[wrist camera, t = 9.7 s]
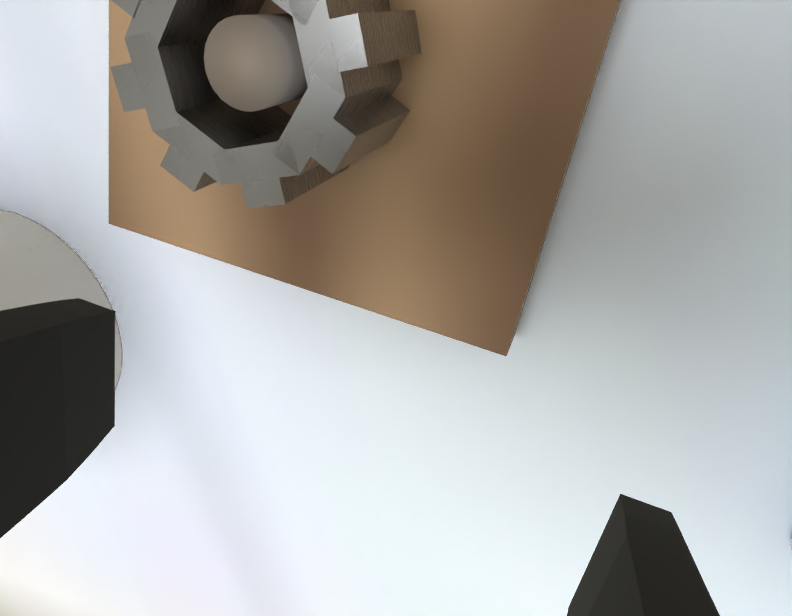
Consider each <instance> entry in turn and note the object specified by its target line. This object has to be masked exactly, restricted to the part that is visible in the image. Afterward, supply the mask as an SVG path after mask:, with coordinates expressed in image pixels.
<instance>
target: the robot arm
mask: <svg viewBox="0 0 792 616" xmlns="http://www.w3.org/2000/svg"><path fill="white" fill-rule="evenodd" d="M114 421H115V311H113V310H111V309H108V308H105V307H102V306H100V305H97V304H94V303H91V302H89V301H86V300H83V299H80V298H76V299H66V300H58V301H51V302H45V303H39V304H33V305H28V306H22V307H17V308H12V309H7V310H2V311H0V538H1V537H2V536H3V535H4V534H6V533H7V532H8V531H9V530H10V529H11V528H13V527H14V526H15V525H16V524H17V523H18V522H20V521H21V520H22V519H23V518H24V517H25V516H26V515H28V514H29V513H30V512H31V511H32V510H33V509H34V508H36V507H37V506H38V505H39V504H40V503H41V502H42V501H44V500H45V499H46V498H47V497H48V496H49V495H50V494H52V493H53V492H54V491H55V490H56V489H57V488H58V487H59V486H60V485H61V484H63V483H64V482H65V481H66V480H67V479H68V478H69V477H70V476H71V475H72V474H73V472H74V471H75V470H76V469H77V468H78V467H79V466H80V465H81V464H82V463H83V462H84V461H85V459H86V458H87V457H88V456H89V455H90V454H91V453H92V452H93V450H94V449H95V448H96V447H97V446H98V445H99V443H100V442H101V441H102V440H103V439H104V438H105V436H106V435H107V434H108V433H109V432H110V430H111V429H112V428H113V427H114ZM790 546H791V550H792V539H791V542H790ZM567 616H720V615H719V613H718V611H717V609H716V607H715V605H714V603H713V600H712V598H711V596H710V594H709V592H708V590H707V588H706V586H705V583H704V581H703V579H702V577H701V575H700V573H699V570H698V568H697V566H696V564H695V562H694V560H693V557H692V555H691V553H690V551H689V549H688V546H687V544H686V542H685V540H684V538H683V536H682V533H681V531H680V529H679V527H678V525H677V523H676V521H675V519H674V517H673V515H672V513H671V512H669V511H666V510H663V509H661V508H658V507H655V506H652V505H650V504H647V503H644V502H641V501H639V500H636V499H633V498H630V497H628V496H625V495H622V494H620V496H619V498H618V501H617V503H616V505H615V507H614V509H613V512H612V514H611V516H610V518H609V520H608V522H607V525H606V527H605V529H604V531H603V533H602V536H601V538H600V540H599V542H598V544H597V547H596V549H595V551H594V553H593V555H592V557H591V560H590V562H589V564H588V566H587V568H586V571H585V573H584V575H583V577H582V579H581V582H580V584H579V586H578V588H577V590H576V592H575V595H574V597H573V599H572V601H571V603H570V606H569V608H568V614H567Z"/></svg>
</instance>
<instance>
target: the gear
mask: <svg viewBox="0 0 792 616" xmlns="http://www.w3.org/2000/svg"><path fill="white" fill-rule="evenodd" d="M111 1H112V2H114V3H115V4H116V5H118V6H119V7H120V8H121V9H123V10H124V11H125V12H126V13H128V14H129V15H130V16H132V19H131V22H130V25H129V27H128V30H127V32H126V35H125V42H126V45H127V48H128V52H129V55H130V58H131V63H126V64H122V65H117V66H112V67H110V68H111V72H112V75H113V78H114V81H115V85H116V88H117V91H118V94H119V97H120V101H121V104H122V107H123V110H124V112H128V111H133V110H139V109H144V108H146V112H147V115H148V118H149V122H150V125H151V128H152V131H153V132H154V133H156V134H157V135H158V136H159V137H161V138H162V139H163V140H164V141H166V142H167V143H168V144H170V145H169V147H168V150H167V152H166V154H165V156H164V158H163V160H162V163H161V165H160V166H161V167H163V168H164V169H165V170H166V171H168V172H169V173H170V174H172V175H173V176H174V177H175V178H177V179H178V180H179V181H180V182H182V183H183V184H184V185H186V186H187V187H188V188H189V189H191V190H192V191H193V192H195V191H197V190H199V189H201V188H204V187H206V186H208V185H211V184H213V183H215V182H218V183H219V184H221V185H227V184H234V183H241V186H242V190H243V194H244V198H245V202H246V205H247V209H250V208H259V207H267V206H276V205H285V204H287V203H289V202H290V201H292V200H294V199H296V198H297V197H299V196H301V195H303V194H304V193H306V192H308V191H310V190H311V189H313V188H315V187H316V186H318V185H320V184H322V183H323V182H325V181H327V180H329V179H330V178H332V177H334V176H336V175H337V174H339V173H341V172H342V171H344V170H346V169H348V168H349V164H351V163H353V162H354V161H356V160H358V159H360V158H362V157H363V156H365V155H367V154H369V153H370V152H372V151H374V150H376V149H377V148H379V147H381V146H383V145H384V144H386V143H388V142H390V140H391V139H392V137H393V136H394V134H395V133H396V131H397V130H398V128H399V127H400V125H401V124H402V122H403V121H404V119H405V118H406V116H407V115H408V113H409V112H410V110H409V109H408V108H407V107H406V106H404V105H403V104H402V103H401V102H399V101H398V100H397V99H395V98H394V97H393V96H392V94H393V93H394V91H395V90H396V88H397V86H398V85H399V83H400V82H401V80H402V73H401V67H400V61H399V59H401V58H405V57H409V56H413V55H417V54H421V53H422V51H421V44H420V38H419V32H418V26H417V19H416V13H415V10H406V11H391V9H390V3H389V0H272V1H273V2H274V3H276V4H277V5H278V6H279V7H281V8H282V9H283V10H285V11H286V12H287V13H288V14H290V15H291V16H292V17H293V21H294V26H295V31H296V35H297V40H298V44H299V49H300V54H301V58H302V63H303V67H304V72H305V77H306V81H307V86H308V89H307V90H306V92H305V94H304V96H303V97H302V99H301V101H300V103H299V105H298V106H297V108H296V110H295V112H294V114H293V115H292V117H291V116H290V115H289V114H288V113H286V112H285V111H284V110H283V109H281V108H280V107H279V106H277V105H275V106H272V107H269V108H265V109H262V110H258V111H252V112H248V111H241V110H238V109H235V108H233V107H231V106H229V105H228V104H227V103H225V102H224V101H223V100H222V99H221V98H220V97H219V96H218V95H217V94H216V92H215V91H214V90H213V88H212V86H211V84H210V82H209V80H208V77H207V74H206V71H205V65H204V50H205V45H206V41H207V38H208V36H209V34H210V32H211V31H212V29H213V28H214V27H215V26H216V25H217V24H218V23H219V22H220V21H222V20H223V19H225V18H227V17H230V16H235V15H255V14H258V13H259V11H260V9H261V7H262V5H263V3H264V1H265V0H111Z"/></svg>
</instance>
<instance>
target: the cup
mask: <svg viewBox="0 0 792 616" xmlns="http://www.w3.org/2000/svg"><path fill="white" fill-rule="evenodd" d="M76 298H80V299H83V300H86V301H89V302H91V303H94V304H97V305H100V306H102V307H105V308H108V309H111V310H112V308H111V305H110V303H109V301H108V299H107V297H106V295H105V293H104V291H103V289H102V288H101V286H100V284H99V283H98V281H97V279H96V278H95V277H94V275H93V274H92V272H91V271H90V270H89V268H88V267H87V266H86V264H85V263H84V262H83V261H82V260H81V259H80V257H79V256H78V255H77V254H76V253H75V252H74V251H73V250H72V249H71V248H70V247H69V246H68V245H67V244H66V243H65V242H63V241H62V240H61V239H60V238H59V237H57V236H56V235H55V234H53V233H52V232H51V231H49V230H48V229H46V228H45V227H43V226H41V225H40V224H38V223H36V222H34V221H32V220H30V219H28V218H26V217H23V216H21V215H18V214H15V213H12V212H8V211H3V210H0V311H2V310H7V309H12V308H17V307H22V306H28V305H33V304H39V303H45V302H51V301H58V300H66V299H76ZM121 366H122V347H121V339H120V333H119V329H118V325H117V322H116V319H115V388H116V386H117V384H118V381H119V377H120V373H121Z"/></svg>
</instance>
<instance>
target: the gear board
mask: <svg viewBox="0 0 792 616" xmlns="http://www.w3.org/2000/svg"><path fill="white" fill-rule="evenodd" d="M620 1H621V0H389V3H390V9H391V11H406V10H415V13H416V19H417V26H418V32H419V38H420V44H421V51H422V53H421V54H417V55H413V56H409V57H405V58H401V59H399V61H400V67H401V73H402V80H401V82H400V83H399V85H398V86H397V88H396V90H395V91H394V93H393V94H392V96H393V97H394V98H395V99H397V100H398V101H399V102H401V103H402V104H403V105H404V106H406V107H407V108H408V109H409V110H410V112H409V113H408V115H407V116H406V118H405V119H404V121H403V122H402V124H401V125H400V127H399V128H398V130H397V131H396V133H395V134H394V136H393V137H392V139H391V140H390V142H388V143H386V144H384V145H383V146H381V147H379V148H377V149H376V150H374V151H372V152H370V153H369V154H367V155H365V156H363V157H362V158H360V159H358V160H356V161H354V162H353V163H351V164H349V168H348V169H346V170H344V171H342V172H341V173H339V174H337V175H336V176H334V177H332V178H330V179H329V180H327V181H325V182H323V183H322V184H320V185H318V186H316V187H315V188H313V189H311V190H310V191H308V192H306V193H304V194H303V195H301V196H299V197H297V198H296V199H294V200H292V201H290V202H289V203H287V204H285V205H276V206H267V207H259V208H250V209H247V205H246V202H245V198H244V194H243V190H242V186H241V183H234V184H227V185H221V184H219V183H218V182H215V183H213V184H211V185H208V186H206V187H204V188H201V189H199V190H197V191H195V192H193V191H192V190H191V189H189V188H188V187H187V186H186V185H184V184H183V183H182V182H180V181H179V180H178V179H177V178H175V177H174V176H173V175H172V174H170V173H169V172H168V171H166V170H165V169H164V168H163V167H161V166H160V165H161V163H162V160H163V158H164V156H165V154H166V152H167V150H168V147H169V145H170V144H168V143H167V142H166V141H164V140H163V139H162V138H161V137H159V136H158V135H157V134H156V133H154V132H153V131H152V128H151V125H150V122H149V118H148V115H147V112H146V108H144V109H139V110H133V111H128V112H124V110H123V107H122V104H121V101H120V97H119V94H118V91H117V88H116V85H115V81H114V78H113V75H112V72H111V68H110V67H112V66H117V65H122V64H126V63H131V58H130V55H129V52H128V48H127V45H126V42H125V35H126V32H127V30H128V27H129V25H130V22H131V19H132V16H130V15H129V14H128V13H126V12H125V11H124V10H123V9H121V8H120V7H119V6H118V5H116V4H115V3H114V2H112V1H111V0H109V224H112V225H115V226H118V227H121V228H124V229H127V230H130V231H133V232H136V233H139V234H142V235H145V236H148V237H151V238H154V239H157V240H160V241H163V242H166V243H169V244H172V245H175V246H178V247H181V248H184V249H187V250H190V251H193V252H196V253H199V254H202V255H205V256H208V257H211V258H214V259H217V260H220V261H223V262H226V263H229V264H232V265H235V266H238V267H241V268H244V269H247V270H250V271H253V272H256V273H259V274H262V275H265V276H268V277H271V278H274V279H277V280H280V281H283V282H286V283H289V284H292V285H295V286H298V287H301V288H303V289H306V290H309V291H312V292H315V293H318V294H321V295H324V296H327V297H330V298H333V299H336V300H339V301H342V302H345V303H348V304H351V305H354V306H357V307H360V308H363V309H366V310H369V311H372V312H375V313H378V314H381V315H384V316H387V317H390V318H393V319H396V320H399V321H402V322H405V323H408V324H411V325H414V326H417V327H420V328H423V329H426V330H429V331H432V332H435V333H438V334H441V335H444V336H447V337H450V338H453V339H456V340H459V341H462V342H465V343H468V344H471V345H474V346H477V347H480V348H483V349H486V350H489V351H492V352H495V353H498V354H501V355H504V356H507V353H508V351H509V348H510V346H511V343H512V340H513V338H514V335H515V332H516V328H517V325H518V322H519V319H520V316H521V313H522V310H523V306H524V303H525V300H526V297H527V294H528V291H529V288H530V284H531V281H532V278H533V275H534V272H535V269H536V265H537V262H538V259H539V256H540V253H541V250H542V247H543V243H544V240H545V237H546V234H547V231H548V228H549V225H550V221H551V218H552V215H553V212H554V209H555V206H556V203H557V199H558V196H559V193H560V190H561V187H562V184H563V181H564V177H565V174H566V171H567V168H568V165H569V162H570V159H571V155H572V152H573V149H574V146H575V143H576V140H577V136H578V133H579V130H580V127H581V124H582V121H583V118H584V114H585V111H586V108H587V105H588V102H589V99H590V96H591V92H592V89H593V86H594V83H595V80H596V77H597V74H598V70H599V67H600V64H601V61H602V58H603V55H604V52H605V48H606V45H607V42H608V39H609V36H610V33H611V30H612V26H613V23H614V20H615V17H616V14H617V11H618V7H619V4H620ZM204 65H205V71H206V74H207V77H208V80H209V82H210V84H211V86H212V88H213V90H214V91H215V92H216V94H217V95H218V96H219V97H220V98H221V99H222V100H223V101H224V102H225V103H227V104H228V105H229V106H231V107H233V108H235V109H238V110H241V111H248V112H252V111H258V110H262V109H265V108H269V107H272V106H275V105H277V106H279V107H280V108H281V109H283V110H284V111H285V112H286V113H288V114H289V115H290V116H291V117H292V115H293V114H294V112H295V110H296V108H297V106H298V105H299V103H300V101H301V99H302V97H303V96H304V94H305V92H306V90H307V89H308V86H307V81H306V77H305V72H304V67H303V63H302V58H301V54H300V49H299V44H298V40H297V35H296V31H295V26H294V21H293V17H292V16H291V15H290V14H288V13H287V12H286V11H285V10H283V9H282V8H281V7H279V6H278V5H277V4H276V3H274V2H273V1H272V0H265V1H264V3H263V5H262V7H261V9H260V11H259V13H258V14H255V15H235V16H230V17H227V18H225V19H223V20H222V21H220V22H219V23H218V24H217V25H216V26H215V27H214V28H213V29H212V31H211V32H210V34H209V36H208V38H207V41H206V45H205V50H204Z"/></svg>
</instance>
